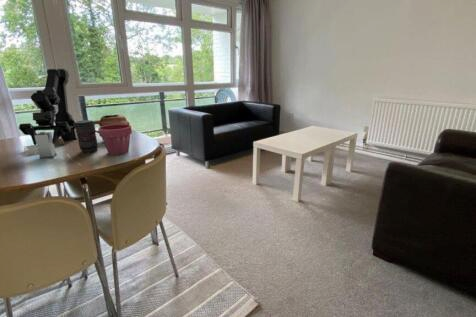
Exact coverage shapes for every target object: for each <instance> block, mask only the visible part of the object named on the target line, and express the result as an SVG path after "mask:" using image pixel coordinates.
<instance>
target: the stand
mask: <svg viewBox="0 0 476 317" xmlns="http://www.w3.org/2000/svg"><path fill="white" fill-rule="evenodd" d="M23 148H24V149H23V150H24V153H25V154H26V156H34V155H39V151H38V147H37V144H36V145H34V144H31V145H24V146H23Z"/></svg>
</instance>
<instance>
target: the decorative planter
mask: <svg viewBox="0 0 476 317" xmlns="http://www.w3.org/2000/svg"><path fill="white" fill-rule="evenodd" d="M92 121H93V122H94V125H99V127H101V126H105V125H113V124H127V125H130V121H128V120H127V118H126V117H125V116H124V115H120V114H110V115H109V114H108V115H107V114H105V115H102V116H101V117H100V119H99V120H92ZM95 133H96V134H99V130H96V129H95Z"/></svg>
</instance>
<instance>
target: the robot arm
mask: <svg viewBox="0 0 476 317" xmlns="http://www.w3.org/2000/svg"><path fill="white" fill-rule="evenodd" d="M46 74H47V76H46V81H45V87H44V88H43V89H41V90H38V89H37V90H36V92H34V93H32V94H31V95H30V99H31V101H32V102H33V103H34V105H35V106H36V107H37V108H38V110H40V111H39V112H32V120H33V121H35V124H36V125H32V123H30V122H28V123H27V122H26V123H20V124H19V125H18V129H19V130H20V132H22V134H23V135H25V136H30V137H31V140H32V143H33V145H37V143H36V139H35V136H34V135H36V134H38V133H37V131H53V133H52V134H53V135H52V143H53V144H55V142H56V141H57V140H58V139H59V138H60V139H63V141H64V142H69V141H75V140H78V137H76V136H77V134H76V128H75V122H76V121H75V119H74V118H73V115H72V114H71V113H70V112H69V106H68V105H69V104H68V95H67V88H66V87H67V86H66V85H67V84H68V82H69V77H70V72H69V71H68V70H66V69H65V68H48V69H47V70H46ZM56 106H57V109H56ZM57 110H58V111H57Z"/></svg>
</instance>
